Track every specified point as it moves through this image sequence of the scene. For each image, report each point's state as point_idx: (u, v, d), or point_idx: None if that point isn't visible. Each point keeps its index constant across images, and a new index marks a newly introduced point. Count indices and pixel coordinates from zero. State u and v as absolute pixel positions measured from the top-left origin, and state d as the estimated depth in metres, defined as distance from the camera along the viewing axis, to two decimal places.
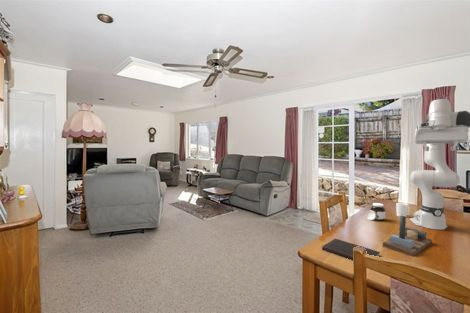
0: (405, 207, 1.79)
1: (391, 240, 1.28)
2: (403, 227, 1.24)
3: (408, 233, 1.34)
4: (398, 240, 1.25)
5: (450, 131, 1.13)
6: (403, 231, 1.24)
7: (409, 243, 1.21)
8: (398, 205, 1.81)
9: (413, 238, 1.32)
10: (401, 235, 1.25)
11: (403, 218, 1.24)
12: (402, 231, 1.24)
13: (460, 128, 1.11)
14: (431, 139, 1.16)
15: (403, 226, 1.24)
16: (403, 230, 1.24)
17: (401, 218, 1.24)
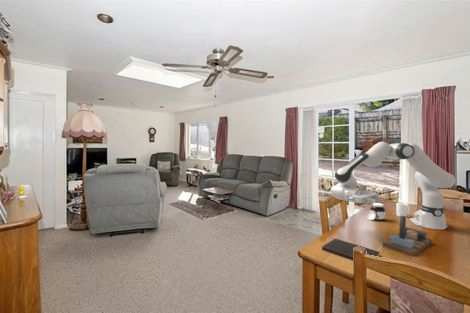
0: (405, 207, 1.79)
1: (391, 240, 1.28)
2: (403, 227, 1.24)
3: (408, 233, 1.34)
4: (398, 240, 1.25)
5: None
6: (403, 231, 1.24)
7: (409, 243, 1.21)
8: (398, 205, 1.81)
9: (413, 238, 1.32)
10: (401, 235, 1.25)
11: (403, 218, 1.24)
12: (402, 231, 1.24)
13: None
14: None
15: (403, 226, 1.24)
16: (403, 230, 1.24)
17: (401, 218, 1.24)
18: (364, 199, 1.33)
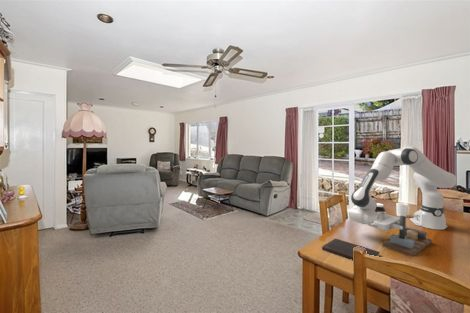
0: (405, 207, 1.79)
1: (391, 240, 1.28)
2: (403, 227, 1.24)
3: (408, 233, 1.34)
4: (398, 240, 1.25)
5: None
6: (403, 231, 1.24)
7: (409, 243, 1.21)
8: (398, 205, 1.81)
9: (413, 238, 1.32)
10: (401, 235, 1.25)
11: (403, 218, 1.24)
12: (402, 231, 1.24)
13: None
14: None
15: (403, 226, 1.24)
16: (403, 230, 1.24)
17: (401, 218, 1.24)
18: (388, 226, 1.24)
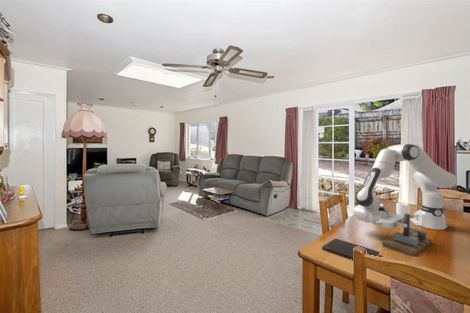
0: (405, 207, 1.79)
1: (395, 238, 1.31)
2: None
3: None
4: (402, 238, 1.28)
5: None
6: (407, 229, 1.27)
7: (413, 240, 1.24)
8: (398, 205, 1.81)
9: None
10: (405, 233, 1.28)
11: (407, 216, 1.27)
12: (406, 228, 1.27)
13: None
14: None
15: None
16: (407, 228, 1.27)
17: (405, 216, 1.28)
18: (392, 224, 1.27)
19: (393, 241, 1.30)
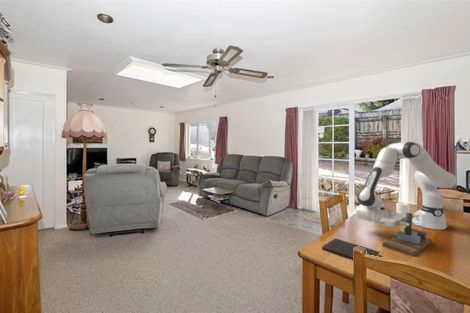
0: (405, 207, 1.79)
1: (398, 236, 1.33)
2: None
3: None
4: (404, 237, 1.30)
5: None
6: (409, 228, 1.29)
7: (415, 239, 1.26)
8: (398, 205, 1.81)
9: None
10: (407, 231, 1.30)
11: (410, 215, 1.29)
12: (409, 227, 1.29)
13: None
14: None
15: None
16: (409, 227, 1.29)
17: (407, 215, 1.29)
18: (395, 223, 1.29)
19: (393, 241, 1.30)
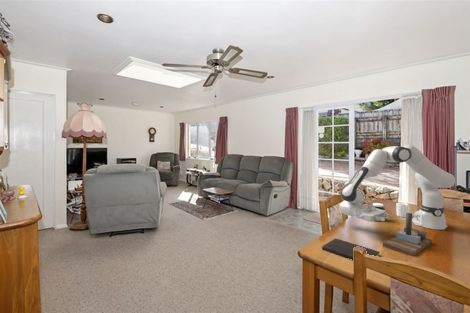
0: (405, 207, 1.79)
1: (398, 236, 1.33)
2: (409, 224, 1.29)
3: None
4: (404, 237, 1.30)
5: None
6: (409, 228, 1.29)
7: (415, 239, 1.26)
8: (398, 205, 1.81)
9: None
10: (407, 231, 1.30)
11: (410, 215, 1.29)
12: (409, 227, 1.29)
13: None
14: None
15: (409, 223, 1.29)
16: (409, 227, 1.29)
17: (408, 215, 1.29)
18: (373, 217, 1.38)
19: (393, 241, 1.30)
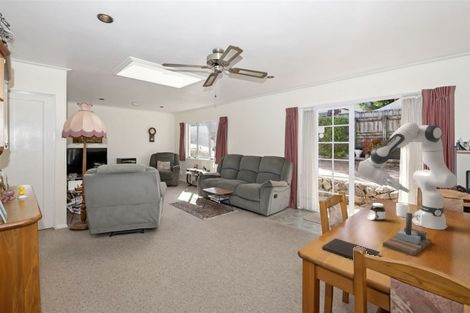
0: (405, 207, 1.79)
1: (398, 236, 1.33)
2: (409, 224, 1.29)
3: None
4: (404, 237, 1.30)
5: None
6: (409, 228, 1.29)
7: (415, 239, 1.26)
8: (398, 205, 1.81)
9: None
10: (407, 231, 1.30)
11: (410, 215, 1.29)
12: (409, 227, 1.29)
13: (387, 184, 1.34)
14: None
15: (409, 223, 1.29)
16: (409, 227, 1.29)
17: (408, 215, 1.29)
18: (400, 187, 1.30)
19: (393, 241, 1.30)
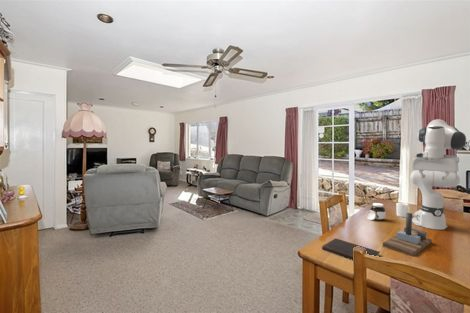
0: (405, 207, 1.79)
1: (398, 236, 1.33)
2: (409, 224, 1.29)
3: None
4: (404, 237, 1.30)
5: (442, 162, 1.27)
6: (409, 228, 1.29)
7: (415, 239, 1.26)
8: (398, 205, 1.81)
9: None
10: (407, 231, 1.30)
11: (410, 215, 1.29)
12: (409, 227, 1.29)
13: (451, 161, 1.24)
14: (425, 169, 1.33)
15: (409, 223, 1.29)
16: (409, 227, 1.29)
17: (408, 215, 1.29)
18: (452, 172, 1.25)
19: (393, 241, 1.30)
